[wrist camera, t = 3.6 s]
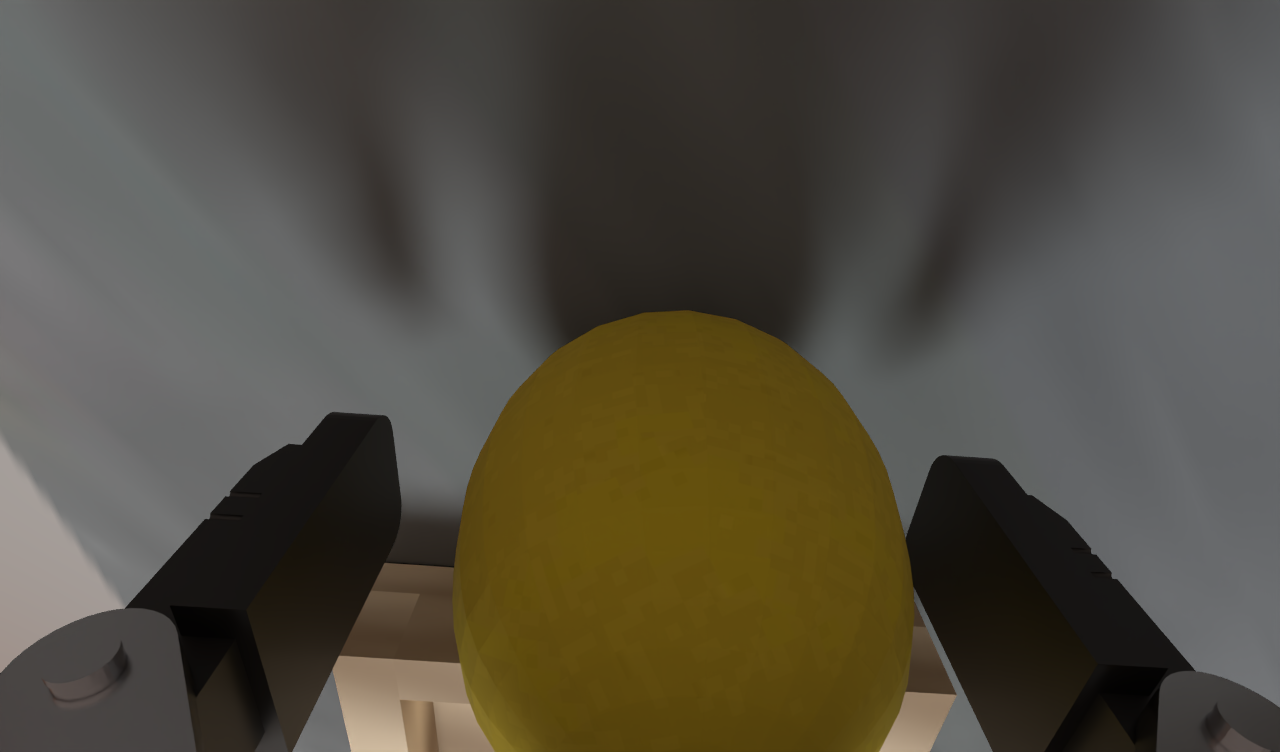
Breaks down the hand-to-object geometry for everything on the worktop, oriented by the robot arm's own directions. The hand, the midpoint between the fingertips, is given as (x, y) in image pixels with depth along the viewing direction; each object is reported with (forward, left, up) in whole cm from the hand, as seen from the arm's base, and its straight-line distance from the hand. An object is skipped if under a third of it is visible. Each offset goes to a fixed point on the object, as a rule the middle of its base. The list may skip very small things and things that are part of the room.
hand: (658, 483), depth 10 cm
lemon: (0, 0, -3) cm, 3 cm away
